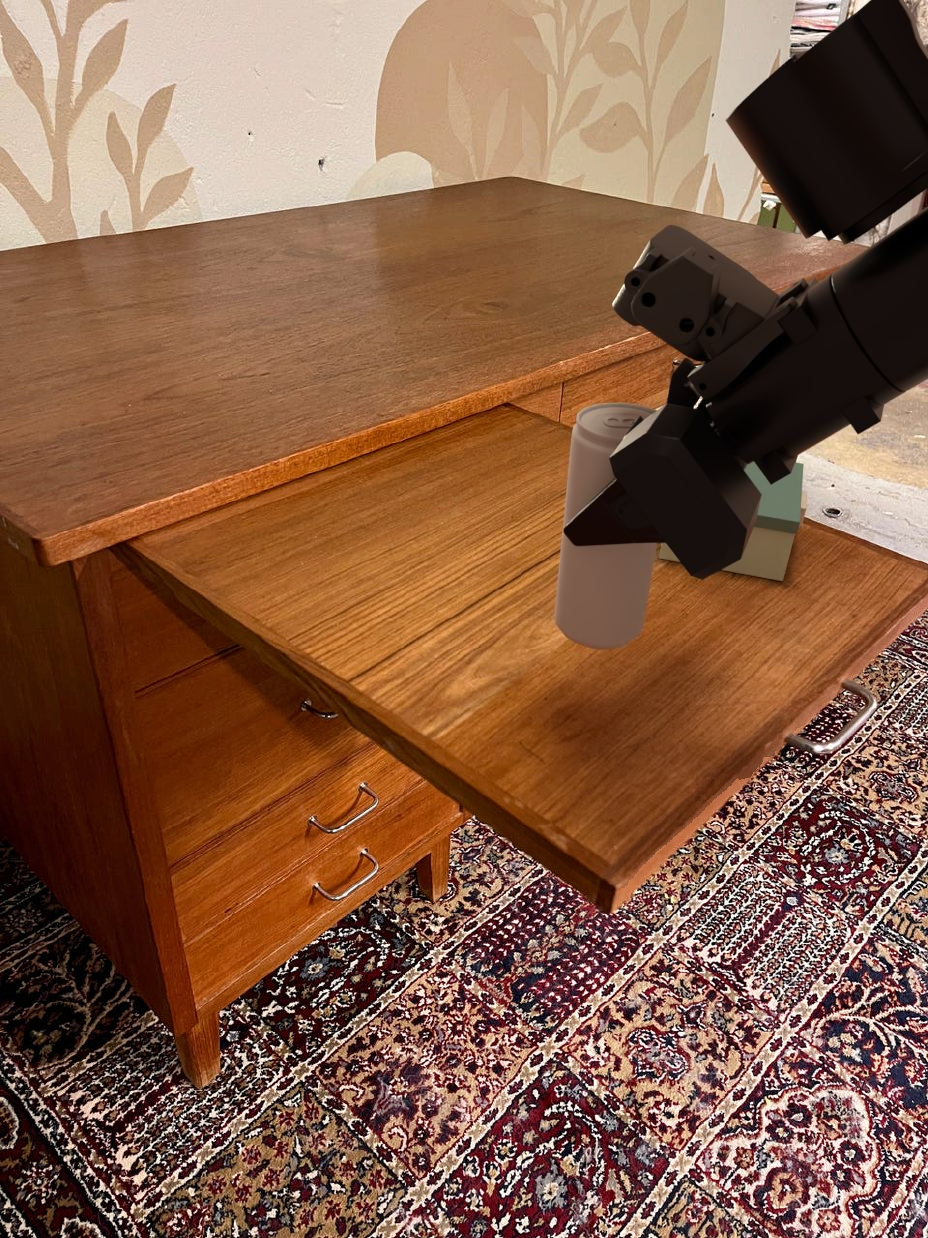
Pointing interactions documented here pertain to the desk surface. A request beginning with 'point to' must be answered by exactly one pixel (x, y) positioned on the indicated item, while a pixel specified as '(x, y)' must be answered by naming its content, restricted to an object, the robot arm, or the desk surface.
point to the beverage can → (603, 574)
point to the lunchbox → (769, 525)
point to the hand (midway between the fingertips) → (585, 515)
